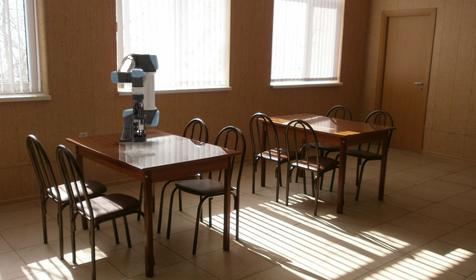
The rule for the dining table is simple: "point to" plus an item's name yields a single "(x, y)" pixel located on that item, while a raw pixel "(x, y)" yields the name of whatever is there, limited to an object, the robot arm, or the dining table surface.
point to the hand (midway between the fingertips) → (138, 128)
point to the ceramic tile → (139, 153)
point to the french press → (138, 131)
